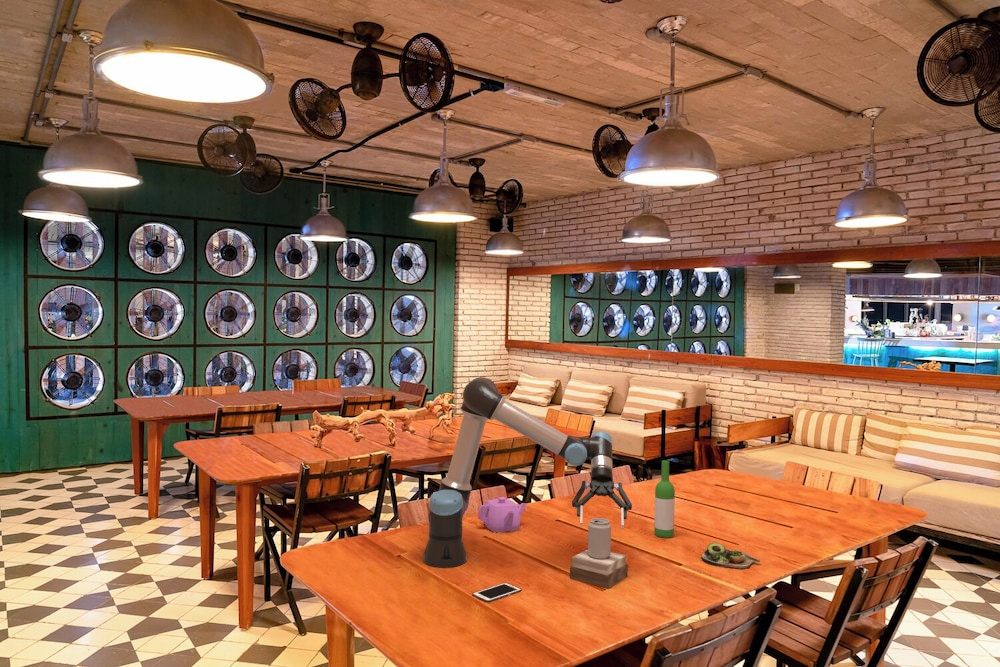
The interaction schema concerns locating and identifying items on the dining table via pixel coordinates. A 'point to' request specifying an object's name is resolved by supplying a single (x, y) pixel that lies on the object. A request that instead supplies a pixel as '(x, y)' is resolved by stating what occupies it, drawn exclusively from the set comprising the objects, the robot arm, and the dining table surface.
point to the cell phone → (496, 592)
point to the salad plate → (726, 557)
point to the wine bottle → (664, 505)
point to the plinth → (598, 576)
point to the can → (599, 538)
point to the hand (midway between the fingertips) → (601, 526)
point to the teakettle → (501, 514)
